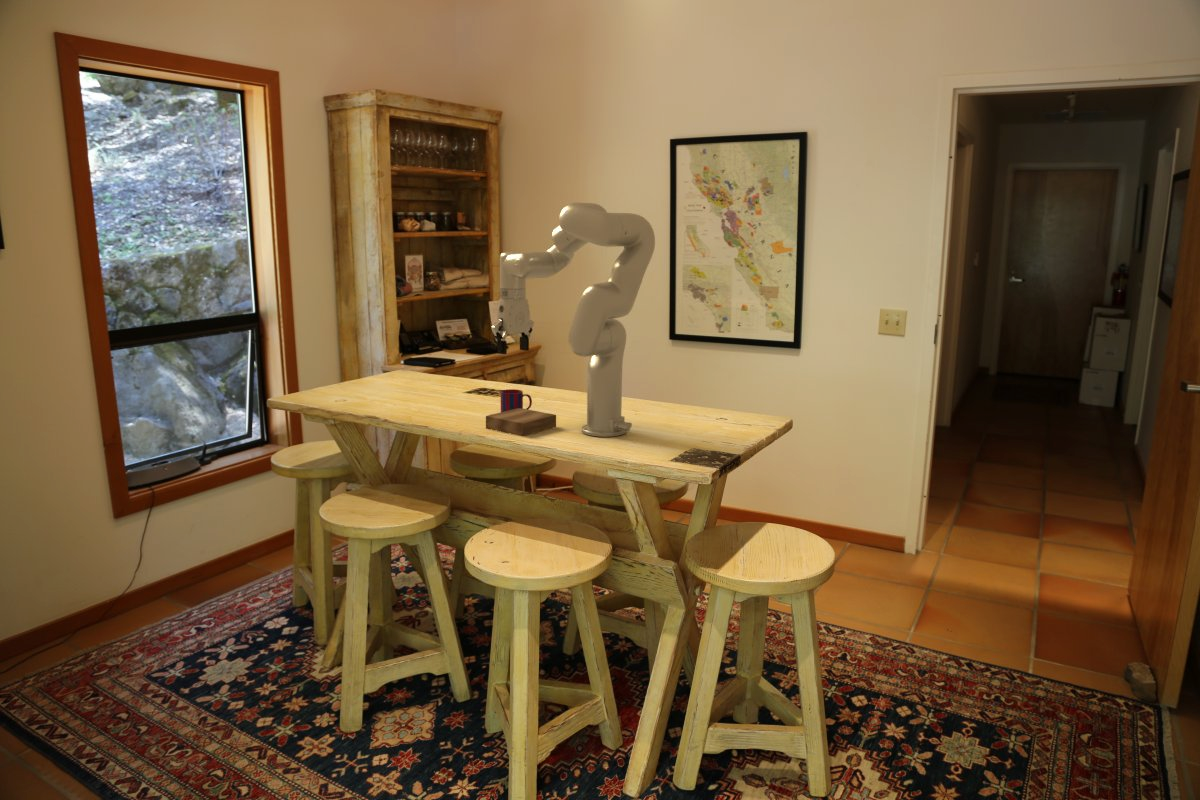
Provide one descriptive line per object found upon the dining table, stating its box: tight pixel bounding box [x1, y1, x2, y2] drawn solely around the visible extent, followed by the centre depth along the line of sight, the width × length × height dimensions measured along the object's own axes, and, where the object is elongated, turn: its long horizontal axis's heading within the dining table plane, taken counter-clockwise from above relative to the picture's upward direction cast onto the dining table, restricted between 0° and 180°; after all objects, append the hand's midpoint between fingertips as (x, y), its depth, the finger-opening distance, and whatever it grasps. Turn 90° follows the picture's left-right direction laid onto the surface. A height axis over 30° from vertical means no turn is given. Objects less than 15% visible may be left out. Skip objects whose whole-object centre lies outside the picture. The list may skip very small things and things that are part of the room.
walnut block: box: [485, 407, 557, 437], centre depth 238 cm, size 14×14×4 cm
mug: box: [500, 388, 533, 412], centre depth 254 cm, size 7×10×7 cm
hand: (513, 351), depth 252 cm, fingers open, 9 cm apart
